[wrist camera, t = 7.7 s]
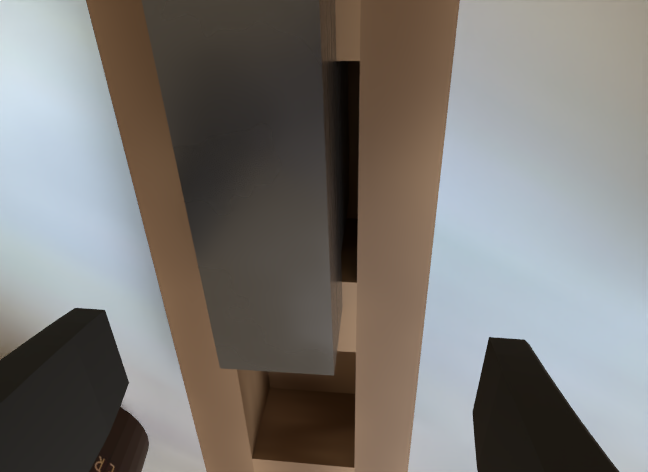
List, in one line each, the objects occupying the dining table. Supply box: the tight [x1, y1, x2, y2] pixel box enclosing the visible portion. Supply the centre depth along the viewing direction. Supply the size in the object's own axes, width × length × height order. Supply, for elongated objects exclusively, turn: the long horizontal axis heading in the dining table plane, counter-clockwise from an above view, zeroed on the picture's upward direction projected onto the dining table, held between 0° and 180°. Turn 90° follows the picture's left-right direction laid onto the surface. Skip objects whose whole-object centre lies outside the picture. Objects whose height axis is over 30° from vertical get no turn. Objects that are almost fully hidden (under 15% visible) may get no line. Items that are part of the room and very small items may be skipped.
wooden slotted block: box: [86, 0, 460, 472], centre depth 18 cm, size 8×20×4 cm, turn 1°
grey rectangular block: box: [142, 0, 350, 375], centre depth 13 cm, size 3×9×6 cm, turn 2°
